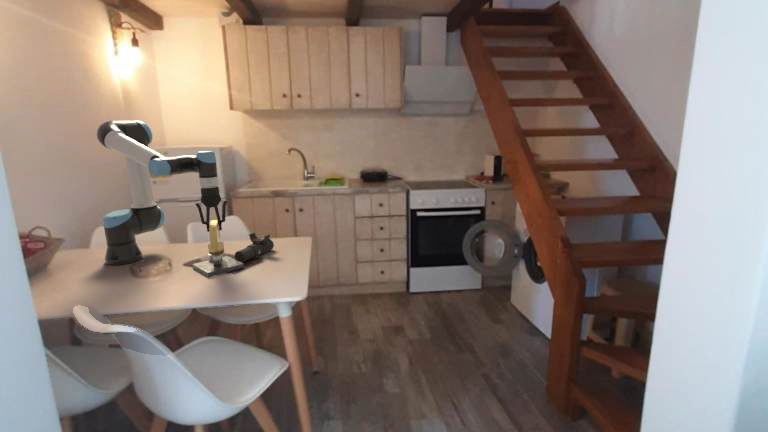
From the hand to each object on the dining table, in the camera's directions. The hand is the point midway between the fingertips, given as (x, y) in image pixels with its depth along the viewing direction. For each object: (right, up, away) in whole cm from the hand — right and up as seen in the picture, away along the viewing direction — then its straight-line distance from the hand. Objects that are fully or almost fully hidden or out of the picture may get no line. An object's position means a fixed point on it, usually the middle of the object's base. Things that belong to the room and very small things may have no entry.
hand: (215, 237), depth 188 cm
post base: (+2, -13, -2) cm, 14 cm away
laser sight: (+14, -10, +14) cm, 22 cm away
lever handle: (+2, -6, -4) cm, 8 cm away
